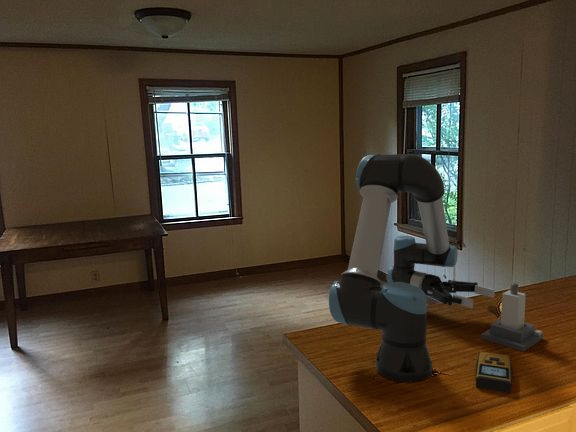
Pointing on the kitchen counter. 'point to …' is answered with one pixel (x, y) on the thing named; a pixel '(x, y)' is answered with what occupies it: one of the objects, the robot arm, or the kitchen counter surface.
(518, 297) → the plug
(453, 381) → the kitchen counter surface
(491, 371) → the electronic device
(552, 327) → the kitchen counter surface
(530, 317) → the kitchen counter surface
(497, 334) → the socket
